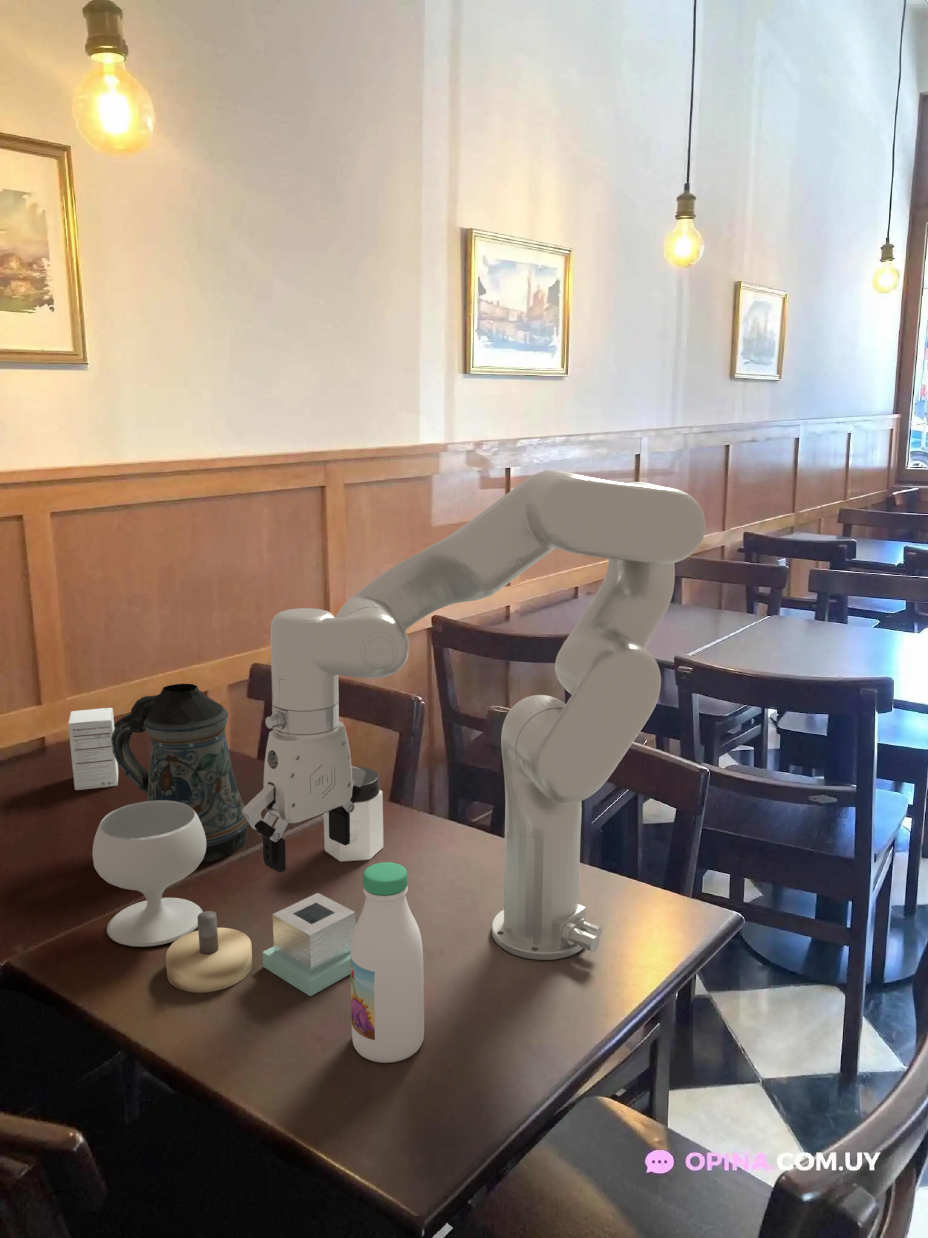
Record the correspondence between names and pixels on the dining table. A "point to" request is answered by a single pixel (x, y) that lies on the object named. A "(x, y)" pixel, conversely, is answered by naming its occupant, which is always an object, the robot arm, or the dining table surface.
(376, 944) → the milk bottle
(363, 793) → the jar
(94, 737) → the supplement box
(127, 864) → the chalice
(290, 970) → the stand
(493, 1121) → the dining table surface
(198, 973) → the hub
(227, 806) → the beer stein
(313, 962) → the collar
